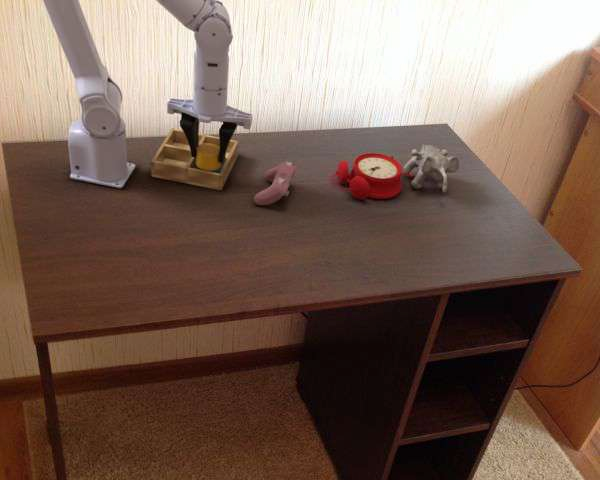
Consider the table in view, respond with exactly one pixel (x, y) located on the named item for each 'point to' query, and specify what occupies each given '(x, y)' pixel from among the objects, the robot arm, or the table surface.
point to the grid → (190, 161)
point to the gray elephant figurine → (431, 166)
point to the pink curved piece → (276, 184)
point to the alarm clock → (371, 176)
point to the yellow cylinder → (207, 156)
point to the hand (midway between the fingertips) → (208, 157)
